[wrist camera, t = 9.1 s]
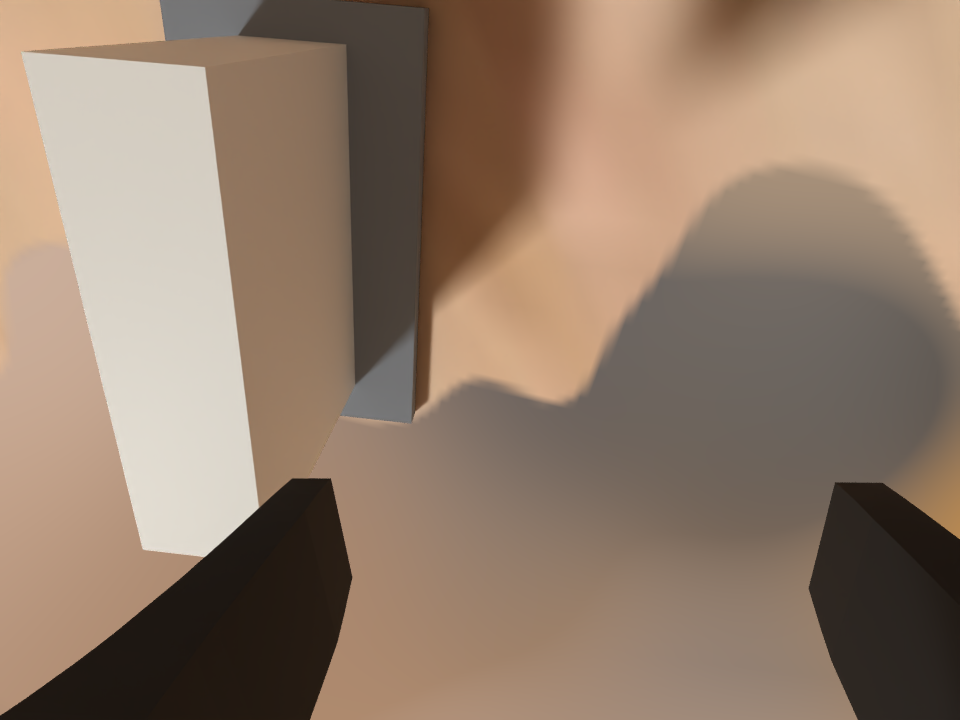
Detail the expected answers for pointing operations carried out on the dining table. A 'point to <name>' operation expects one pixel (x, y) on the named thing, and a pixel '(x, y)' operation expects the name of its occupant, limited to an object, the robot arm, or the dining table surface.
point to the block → (207, 262)
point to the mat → (360, 166)
